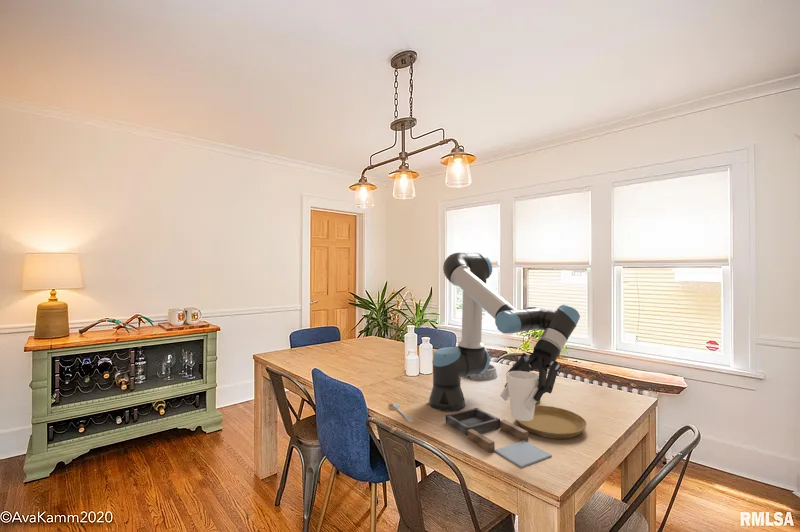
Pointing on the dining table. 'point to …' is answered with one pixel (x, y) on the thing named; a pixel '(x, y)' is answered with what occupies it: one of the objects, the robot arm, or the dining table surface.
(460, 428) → the track
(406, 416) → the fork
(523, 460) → the mat
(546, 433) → the plant saucer
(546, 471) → the dining table surface
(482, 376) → the dog bowl
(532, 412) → the foam cup
